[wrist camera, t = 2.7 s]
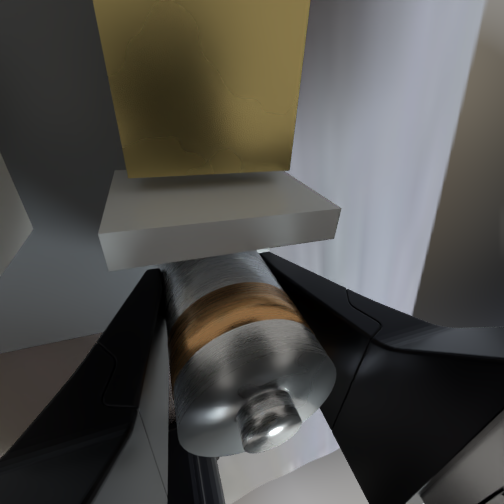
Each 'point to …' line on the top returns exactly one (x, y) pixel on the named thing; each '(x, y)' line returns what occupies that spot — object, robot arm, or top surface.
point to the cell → (239, 356)
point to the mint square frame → (105, 189)
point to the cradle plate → (204, 82)
